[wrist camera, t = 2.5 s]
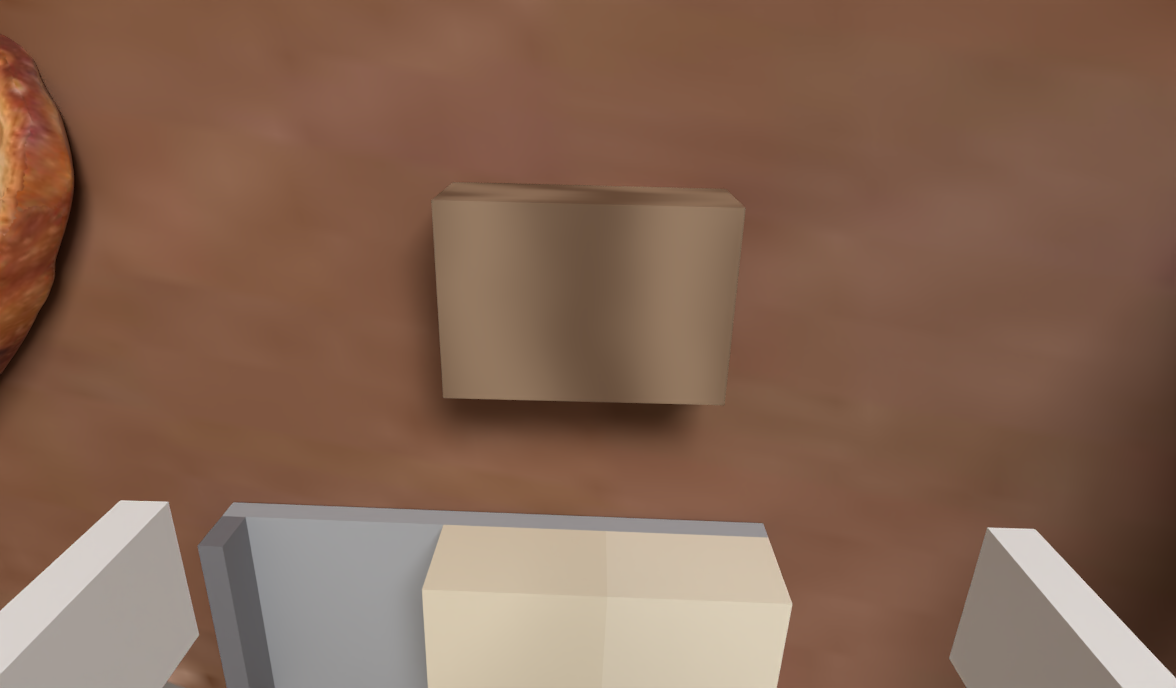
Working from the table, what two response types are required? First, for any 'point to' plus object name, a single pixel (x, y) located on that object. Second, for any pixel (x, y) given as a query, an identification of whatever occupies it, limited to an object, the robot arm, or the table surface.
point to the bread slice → (28, 194)
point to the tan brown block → (586, 292)
